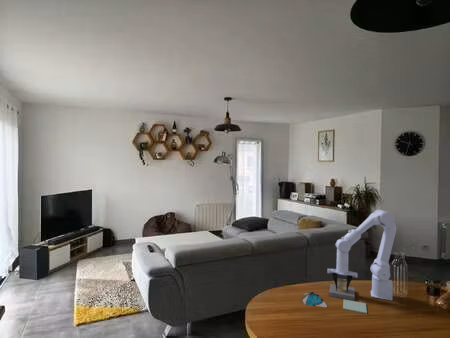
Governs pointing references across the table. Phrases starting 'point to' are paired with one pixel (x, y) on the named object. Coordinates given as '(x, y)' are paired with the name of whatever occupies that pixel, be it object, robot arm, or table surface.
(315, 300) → the decorative butterfly
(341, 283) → the maple block
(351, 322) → the table surface
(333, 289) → the pocket holder
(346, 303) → the rubber mat
